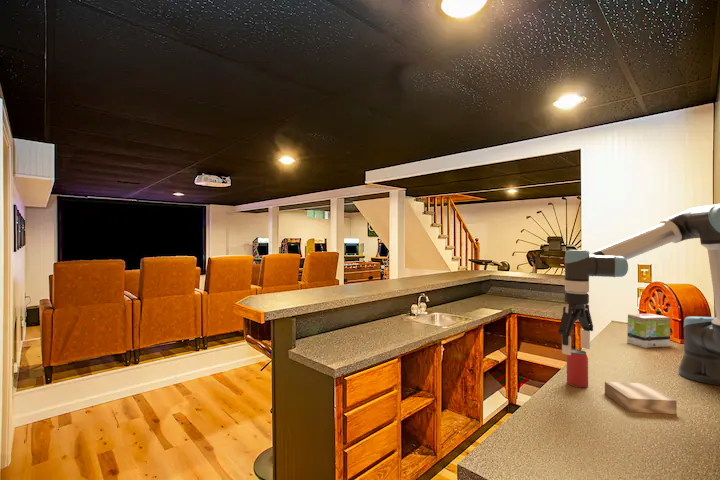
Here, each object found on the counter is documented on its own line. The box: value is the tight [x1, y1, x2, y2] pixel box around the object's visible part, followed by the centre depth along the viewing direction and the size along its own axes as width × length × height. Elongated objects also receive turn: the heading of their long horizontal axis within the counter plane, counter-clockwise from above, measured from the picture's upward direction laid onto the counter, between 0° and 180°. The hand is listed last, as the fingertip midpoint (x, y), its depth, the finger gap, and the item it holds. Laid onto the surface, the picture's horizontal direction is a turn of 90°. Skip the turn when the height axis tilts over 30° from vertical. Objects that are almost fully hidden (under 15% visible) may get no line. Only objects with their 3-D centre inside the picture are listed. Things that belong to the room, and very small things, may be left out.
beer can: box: [566, 348, 589, 388], centre depth 127 cm, size 7×7×12 cm
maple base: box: [604, 381, 678, 415], centre depth 112 cm, size 13×13×4 cm
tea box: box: [626, 313, 671, 349], centre depth 177 cm, size 15×10×15 cm, turn 102°
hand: (576, 351), depth 127 cm, fingers open, 13 cm apart
